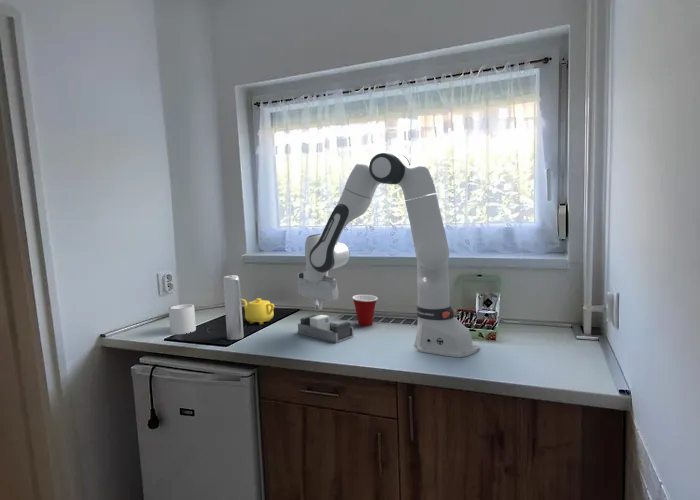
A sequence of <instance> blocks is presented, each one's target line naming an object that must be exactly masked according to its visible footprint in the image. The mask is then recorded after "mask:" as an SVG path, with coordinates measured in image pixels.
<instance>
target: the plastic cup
mask: <svg viewBox="0 0 700 500" xmlns="http://www.w3.org/2000/svg"><path fill="white" fill-rule="evenodd" d="M352 299H353V304H354V307H355V309H354V310H355V314H356V318H357V322H358V325H359V326H361V327H367V326H368V327H369V326H373V322H374V315H375V308H376V303H377V301H378V299H379V298H378V297H377V296H375V295H371V294H356V295H353V296H352Z"/></svg>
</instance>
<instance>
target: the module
mask: <svg viewBox="0 0 700 500" xmlns="http://www.w3.org/2000/svg"><path fill="white" fill-rule="evenodd" d="M330 322H331V321H330V316H329V315H325V314H320V315H317V316H315V317H312V318H310V326H312V327H316V328H320V329H324V330H329V331H330Z"/></svg>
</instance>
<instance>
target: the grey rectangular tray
mask: <svg viewBox="0 0 700 500" xmlns="http://www.w3.org/2000/svg"><path fill="white" fill-rule="evenodd" d="M315 316H318V315H315V314H312V315H309V316H305V317H301V318H300V322H299V323H297V333H298V334H300V335H304V336H308V337H311V338H315V339H320V340H323V341H327V342H330V343H334V344H337V343H340V342H343V341H345V340H348V339H352V338H354V335H355V332H354V331H355V330H354V326H351V322H349V321H344V322H342V323H335V322H333V321H332V322H331V321H330V331H329V330H324V329H320V328H316V327H312V326H310V318H312V317H315Z"/></svg>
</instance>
